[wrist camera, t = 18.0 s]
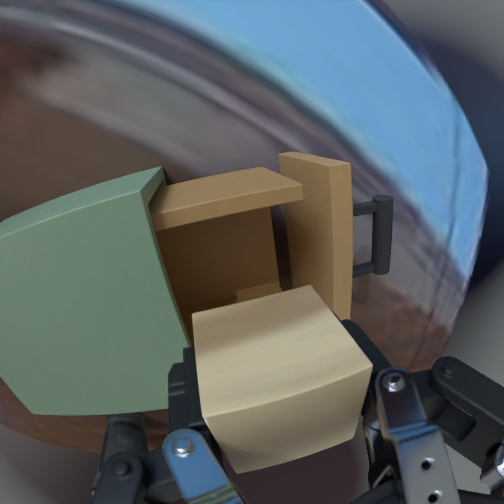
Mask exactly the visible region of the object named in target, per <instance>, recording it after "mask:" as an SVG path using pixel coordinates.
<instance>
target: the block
mask: <svg viewBox="0 0 504 504" xmlns="http://www.w3.org/2000/svg"><path fill="white" fill-rule="evenodd" d="M192 321H193V335H194V347H195V358H196V368H197V377H198V386H199V395H200V403H201V411H202V417H203V419H204V420H205V422H206V424H207V426H208V428H209V429H210V431H211V433H212V435H213V436H214V438H215V440H216V441H217V443H218V445H219V446H220V448H221V450H222V451H223V453H224V455H225V456H226V458H227V459H228V461H229V463H230V464H231V466H232V467H233V469H234V470H235V472H236V473H238V474H239V473H244V472H248V471H253V470H257V469H261V468H266V467H270V466H273V465H277V464H281V463H284V462H288V461H291V460H294V459H298V458H301V457H304V456H307V455H310V454H313V453H316V452H319V451H321V450H324V449H327V448H330V447H332V446H335V445H337V444H340V443H342V442H345V441H347V440H349V439H352V438H353V437H354V434H355V431H356V428H357V425H358V421H359V418H360V414H361V411H362V408H363V404H364V400H365V397H366V393H367V389H368V385H369V381H370V377H371V373H372V368H373V364H372V363H371V361H370V360H369V359H368V358H367V356H366V355H365V354H364V352H363V351H362V350H361V348H360V347H359V346H358V344H357V343H356V342H355V341H354V339H353V338H352V337H351V335H350V334H349V333H348V332H347V330H346V329H345V328H344V326H343V325H342V324H341V323H340V321H339V320H338V319H337V317H336V316H335V315H334V314H333V312H332V311H331V310H330V309H329V307H328V306H327V305H326V303H325V302H324V301H323V300H322V298H321V297H320V296H319V295H318V293H317V292H316V291H315V290H314V288H313V287H312V286H311V285H307V286H303V287H299V288H295V289H292V290H288V291H284V292H280V293H276V294H272V295H268V296H264V297H260V298H256V299H252V300H248V301H244V302H240V303H235V304H231V305H227V306H223V307H218V308H214V309H209V310H205V311H200V312H196V313H193V314H192Z"/></svg>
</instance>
